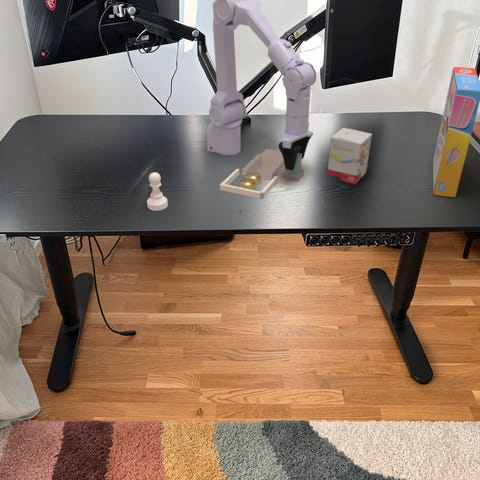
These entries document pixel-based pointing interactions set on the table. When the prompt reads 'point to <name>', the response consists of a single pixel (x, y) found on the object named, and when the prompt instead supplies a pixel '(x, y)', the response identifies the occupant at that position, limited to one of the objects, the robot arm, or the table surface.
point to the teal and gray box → (297, 171)
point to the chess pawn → (156, 194)
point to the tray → (242, 191)
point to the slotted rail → (266, 164)
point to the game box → (455, 130)
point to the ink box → (349, 155)
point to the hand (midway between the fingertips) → (294, 163)
